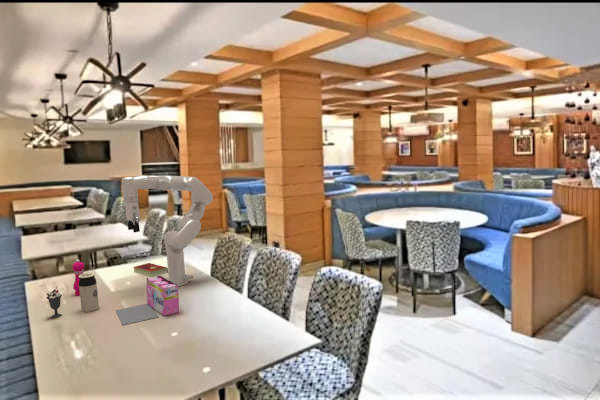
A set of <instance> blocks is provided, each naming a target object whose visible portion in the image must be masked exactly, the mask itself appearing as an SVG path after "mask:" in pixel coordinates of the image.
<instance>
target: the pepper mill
mask: <svg viewBox="0 0 600 400" xmlns="http://www.w3.org/2000/svg"><path fill="white" fill-rule="evenodd" d="M84 269H85V263H84V262H82V261H80V259H75V262H74V263H73V264H72V270H73V274H74V275H75V276H74V277H75V279H74V282H73V285H72V286H73V287H72V289H73V290H74V295H75V296H77V297H78V296H79V297H80V290H79V281H80V278H79V275H81V274H85V272H84Z"/></svg>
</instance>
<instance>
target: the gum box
mask: <svg viewBox="0 0 600 400" xmlns="http://www.w3.org/2000/svg"><path fill="white" fill-rule="evenodd" d="M179 296H180V295H179V286H178V285H177V284H175V283H173V282H171V281H169V279H168V278H165V277H164V276H161V275H157V276H156V277H150V278H149V277H146V304H149V305H150V306H151V307H152V308H153V310H155V311H157V312H158V313H159V314H161V315H162V316H168V315H174V314H177V313H179V312H180V305H179V304H180V301H179V300H180V298H179Z"/></svg>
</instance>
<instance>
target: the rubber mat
mask: <svg viewBox="0 0 600 400" xmlns="http://www.w3.org/2000/svg"><path fill="white" fill-rule="evenodd" d="M115 313H116V314H117V317H118V320H119V321H120V323H121V325H122V326H126V325H132V324H136V323H140V321H141V322H144V321H145V322H146V321H148V320H152V319H153V320H154V319H159V315H158V314H157V312H156V310H155V309H154V308H153V307H151V306H150V305H149V304H147V303H144V304H143V303H142V304H138V305H133V306H130V307H129V306H128V307H125V308H124V307H123V308H120V309H116V310H115ZM131 323H132V324H131Z"/></svg>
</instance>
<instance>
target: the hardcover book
mask: <svg viewBox="0 0 600 400" xmlns="http://www.w3.org/2000/svg"><path fill="white" fill-rule="evenodd" d="M132 268H133V270H134V271H133V272H134V273H136V274H139V275H144V276H146V277H150V278H155V277H157V276H161V275H164V274H167V273H168V266H163V265H158V264H156V263H151V262H148V263H143V264H140V265H136V266H133V267H132Z"/></svg>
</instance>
